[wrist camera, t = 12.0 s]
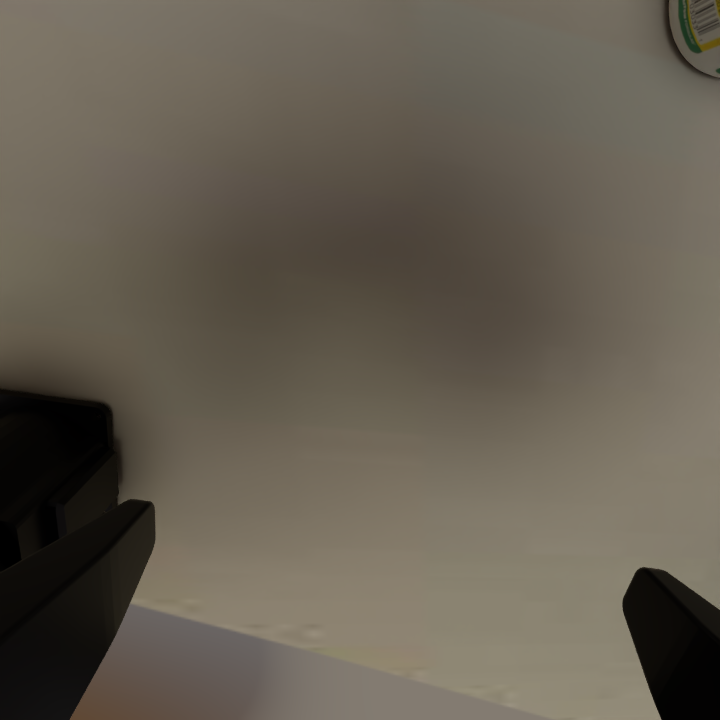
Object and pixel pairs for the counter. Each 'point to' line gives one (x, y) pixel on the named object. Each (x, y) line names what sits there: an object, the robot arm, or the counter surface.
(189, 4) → the counter surface
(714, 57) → the supplement bottle
